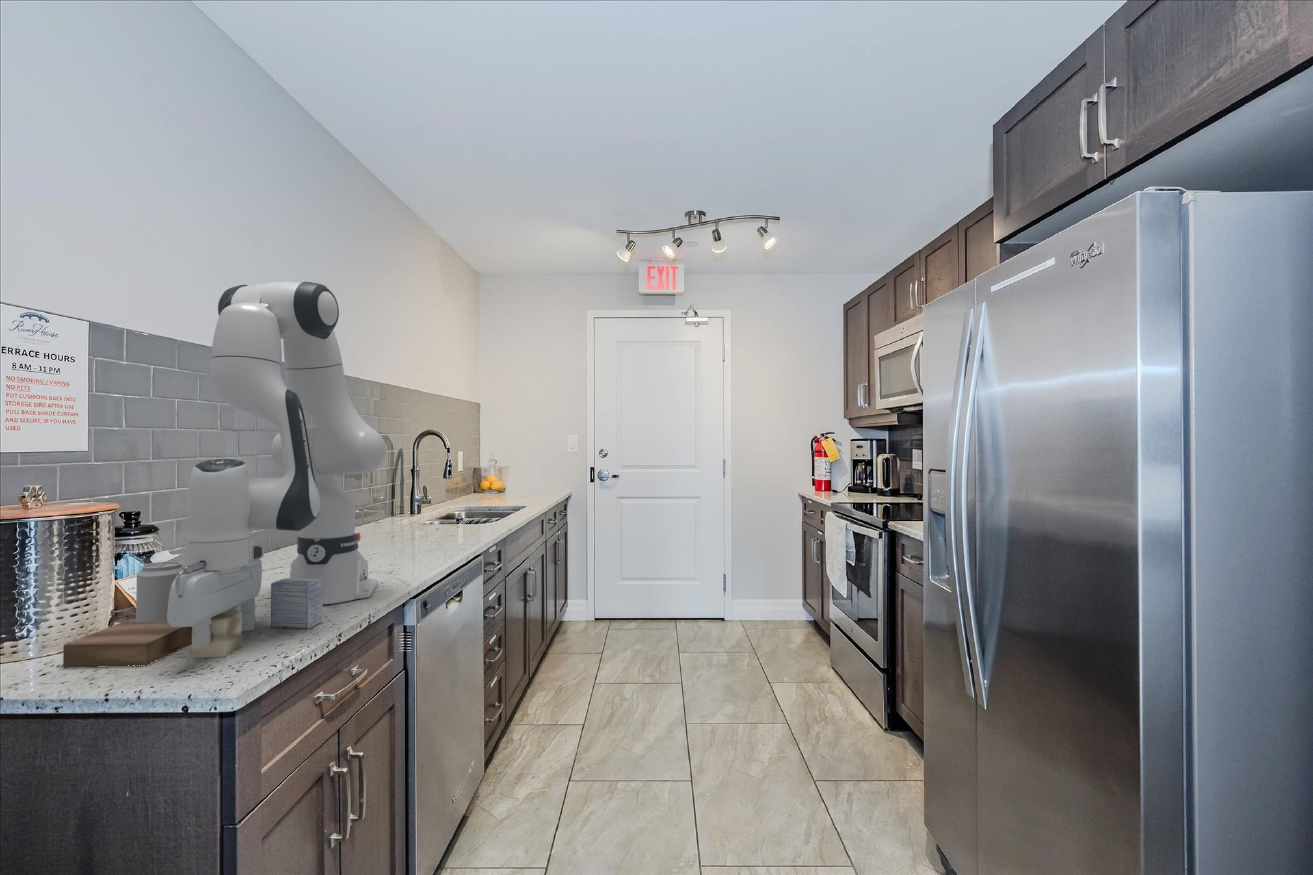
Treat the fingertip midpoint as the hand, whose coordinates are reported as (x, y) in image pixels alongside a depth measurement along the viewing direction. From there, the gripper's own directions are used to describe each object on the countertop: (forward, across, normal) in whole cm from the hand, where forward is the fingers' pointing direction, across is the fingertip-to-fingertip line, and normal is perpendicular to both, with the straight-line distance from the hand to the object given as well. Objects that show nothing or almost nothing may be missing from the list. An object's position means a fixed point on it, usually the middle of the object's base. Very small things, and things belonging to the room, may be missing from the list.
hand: (217, 638), depth 104 cm
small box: (+3, +14, +5) cm, 15 cm away
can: (+2, +16, +19) cm, 25 cm away
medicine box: (+3, +15, -6) cm, 16 cm away
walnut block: (+3, 0, +13) cm, 13 cm away
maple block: (+2, 0, 0) cm, 2 cm away
